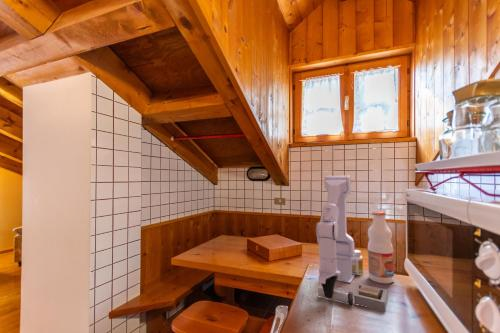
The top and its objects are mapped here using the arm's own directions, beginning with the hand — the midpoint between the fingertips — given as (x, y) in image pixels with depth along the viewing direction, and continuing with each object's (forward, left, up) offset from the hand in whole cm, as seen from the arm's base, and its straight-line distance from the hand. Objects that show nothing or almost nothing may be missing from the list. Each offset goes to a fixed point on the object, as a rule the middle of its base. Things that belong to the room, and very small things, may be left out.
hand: (328, 297), depth 86 cm
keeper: (-3, +1, -2) cm, 4 cm away
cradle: (-9, +12, -2) cm, 15 cm away
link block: (-9, +12, -2) cm, 15 cm away
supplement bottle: (-33, +3, -2) cm, 34 cm away
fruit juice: (-31, +13, -2) cm, 34 cm away
